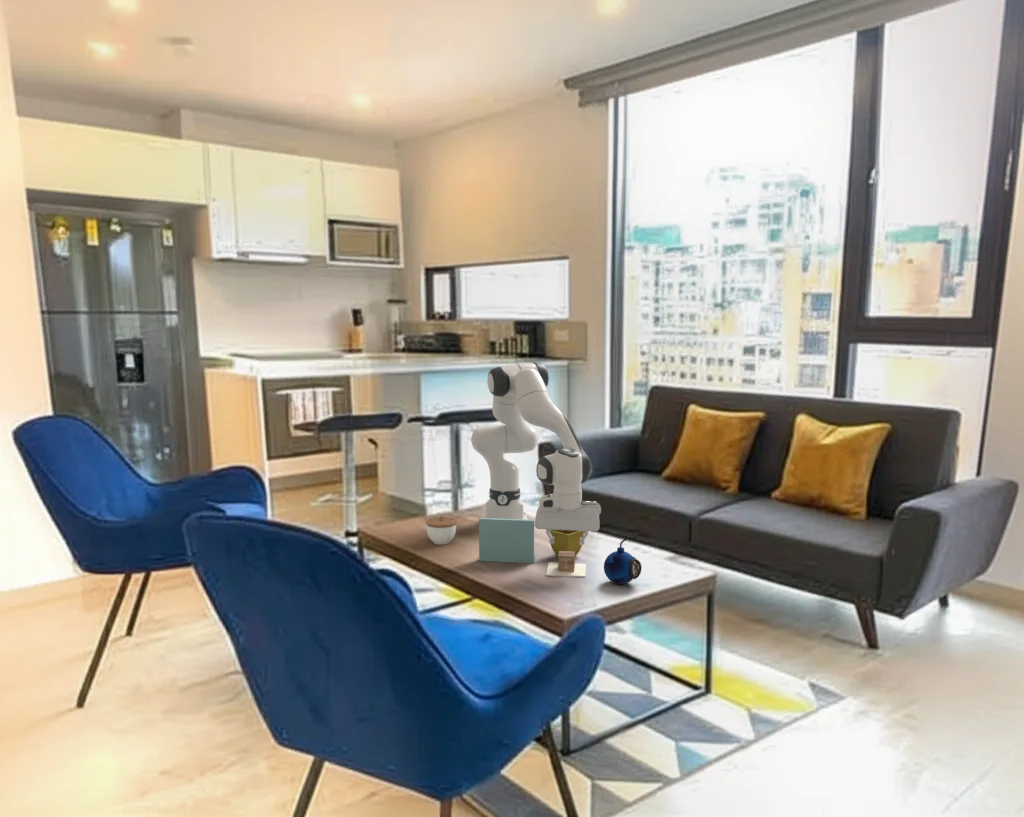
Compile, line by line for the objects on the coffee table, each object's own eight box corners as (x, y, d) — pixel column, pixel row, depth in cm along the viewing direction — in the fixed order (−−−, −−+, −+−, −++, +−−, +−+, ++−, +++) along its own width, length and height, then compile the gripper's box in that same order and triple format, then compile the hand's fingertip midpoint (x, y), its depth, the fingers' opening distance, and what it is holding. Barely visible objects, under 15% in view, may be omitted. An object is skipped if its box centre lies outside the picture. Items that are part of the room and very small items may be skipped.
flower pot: (547, 555, 246) (547, 529, 245) (564, 550, 253) (564, 524, 252) (567, 561, 240) (567, 534, 239) (584, 555, 246) (584, 529, 245)
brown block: (559, 566, 234) (559, 550, 234) (574, 566, 234) (574, 551, 233) (558, 571, 229) (558, 555, 229) (574, 572, 228) (574, 556, 228)
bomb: (630, 592, 212) (631, 541, 211) (597, 584, 219) (598, 535, 217) (645, 583, 220) (646, 534, 218) (613, 575, 227) (614, 528, 225)
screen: (481, 556, 246) (481, 515, 244) (535, 558, 243) (535, 517, 242) (479, 560, 241) (479, 519, 239) (533, 563, 239) (533, 520, 237)
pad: (549, 563, 238) (549, 562, 238) (586, 565, 237) (586, 563, 237) (546, 575, 226) (546, 574, 226) (585, 577, 225) (585, 576, 225)
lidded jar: (462, 540, 264) (462, 514, 263) (446, 548, 255) (445, 521, 254) (437, 536, 269) (437, 511, 268) (420, 543, 260) (420, 517, 259)
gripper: (601, 499, 231) (600, 541, 233) (536, 496, 234) (536, 538, 235) (601, 504, 225) (600, 547, 227) (534, 501, 228) (534, 544, 229)
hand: (566, 543), depth 231 cm, fingers open, 8 cm apart
